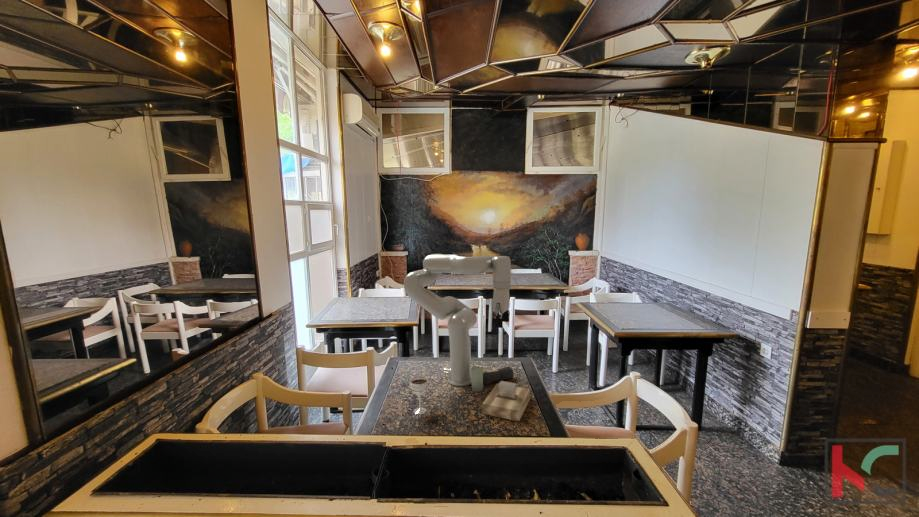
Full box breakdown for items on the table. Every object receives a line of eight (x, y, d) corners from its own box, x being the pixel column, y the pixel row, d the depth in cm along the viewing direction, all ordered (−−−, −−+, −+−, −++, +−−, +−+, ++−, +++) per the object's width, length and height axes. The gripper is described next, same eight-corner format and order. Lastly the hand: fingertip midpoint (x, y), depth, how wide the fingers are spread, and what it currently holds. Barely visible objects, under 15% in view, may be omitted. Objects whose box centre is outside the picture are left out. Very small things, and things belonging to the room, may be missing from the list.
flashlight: (485, 387, 149) (485, 375, 148) (479, 382, 153) (479, 371, 153) (514, 379, 155) (514, 368, 155) (507, 375, 160) (507, 364, 160)
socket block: (482, 413, 127) (482, 403, 126) (497, 392, 143) (497, 383, 143) (519, 421, 121) (519, 410, 121) (530, 398, 137) (530, 389, 137)
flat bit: (498, 406, 132) (498, 383, 131) (501, 402, 135) (501, 380, 134) (513, 409, 130) (513, 386, 129) (515, 405, 132) (515, 383, 132)
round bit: (469, 390, 146) (469, 370, 145) (474, 385, 150) (473, 365, 149) (480, 392, 143) (480, 372, 143) (484, 387, 148) (484, 367, 147)
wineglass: (421, 417, 125) (420, 386, 124) (407, 412, 129) (406, 382, 128) (432, 409, 131) (431, 379, 130) (418, 404, 134) (417, 375, 133)
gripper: (499, 281, 153) (499, 318, 154) (486, 287, 137) (487, 329, 139) (515, 282, 150) (515, 320, 151) (504, 288, 134) (504, 330, 136)
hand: (502, 324), depth 145 cm, fingers open, 9 cm apart
